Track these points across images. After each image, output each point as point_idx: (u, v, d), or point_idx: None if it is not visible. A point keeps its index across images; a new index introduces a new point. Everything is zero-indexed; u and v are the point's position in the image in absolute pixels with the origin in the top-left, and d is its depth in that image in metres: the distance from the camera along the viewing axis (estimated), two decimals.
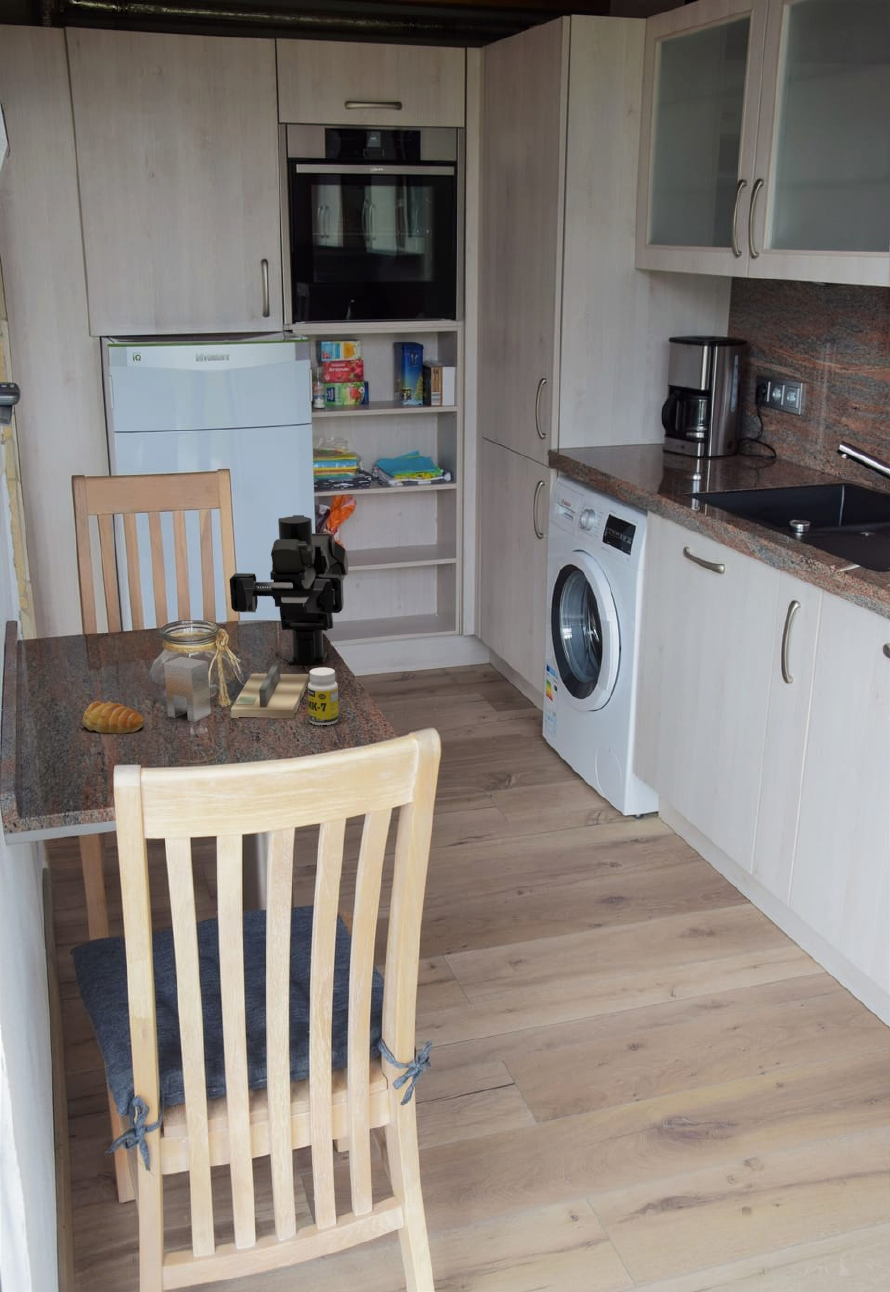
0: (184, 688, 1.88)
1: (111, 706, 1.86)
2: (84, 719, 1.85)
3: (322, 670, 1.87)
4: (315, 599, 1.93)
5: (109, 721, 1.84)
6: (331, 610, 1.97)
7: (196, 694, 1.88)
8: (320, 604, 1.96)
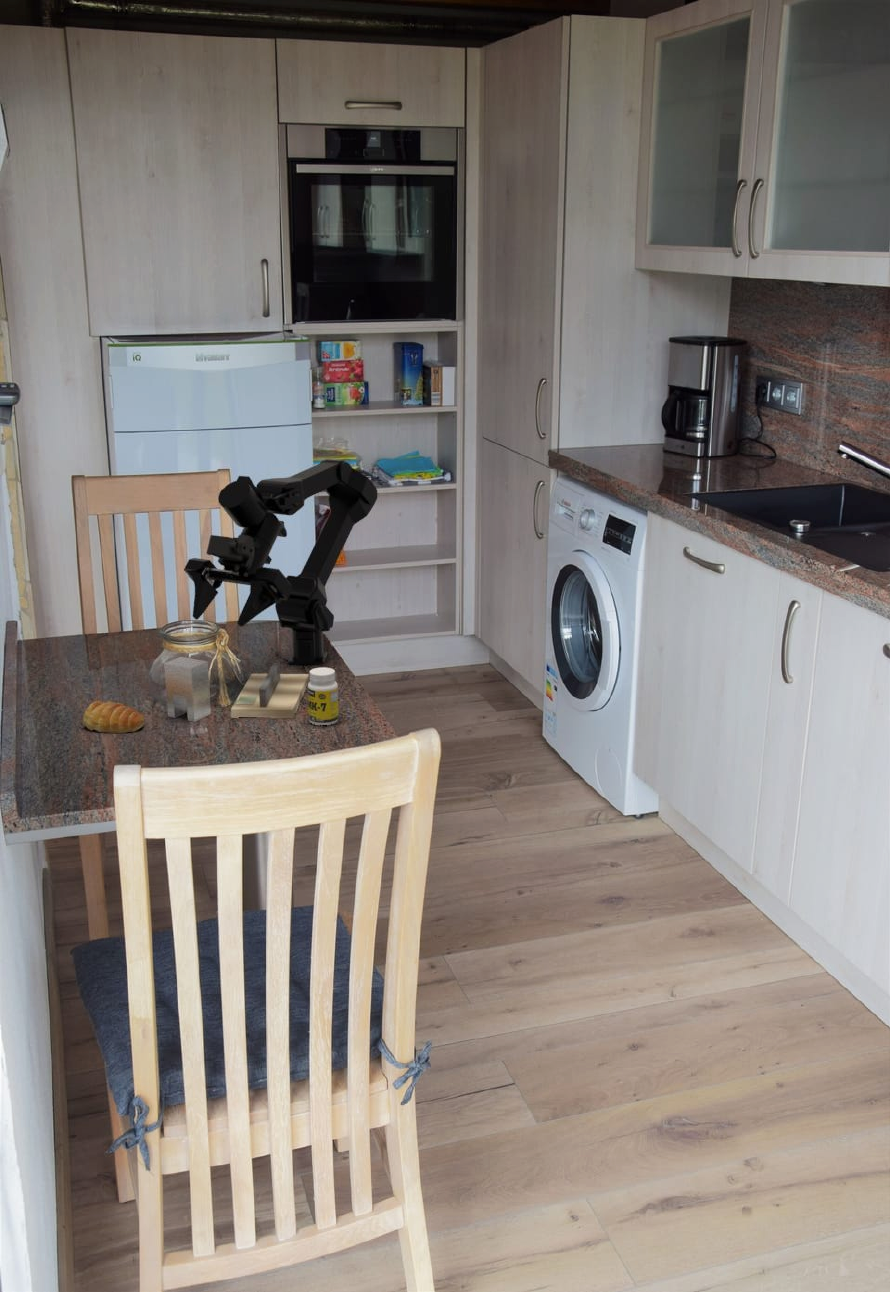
0: (184, 688, 1.88)
1: (112, 706, 1.86)
2: (85, 719, 1.85)
3: (322, 670, 1.87)
4: (251, 607, 1.92)
5: (110, 720, 1.84)
6: (277, 601, 1.95)
7: (196, 694, 1.88)
8: (263, 600, 1.95)
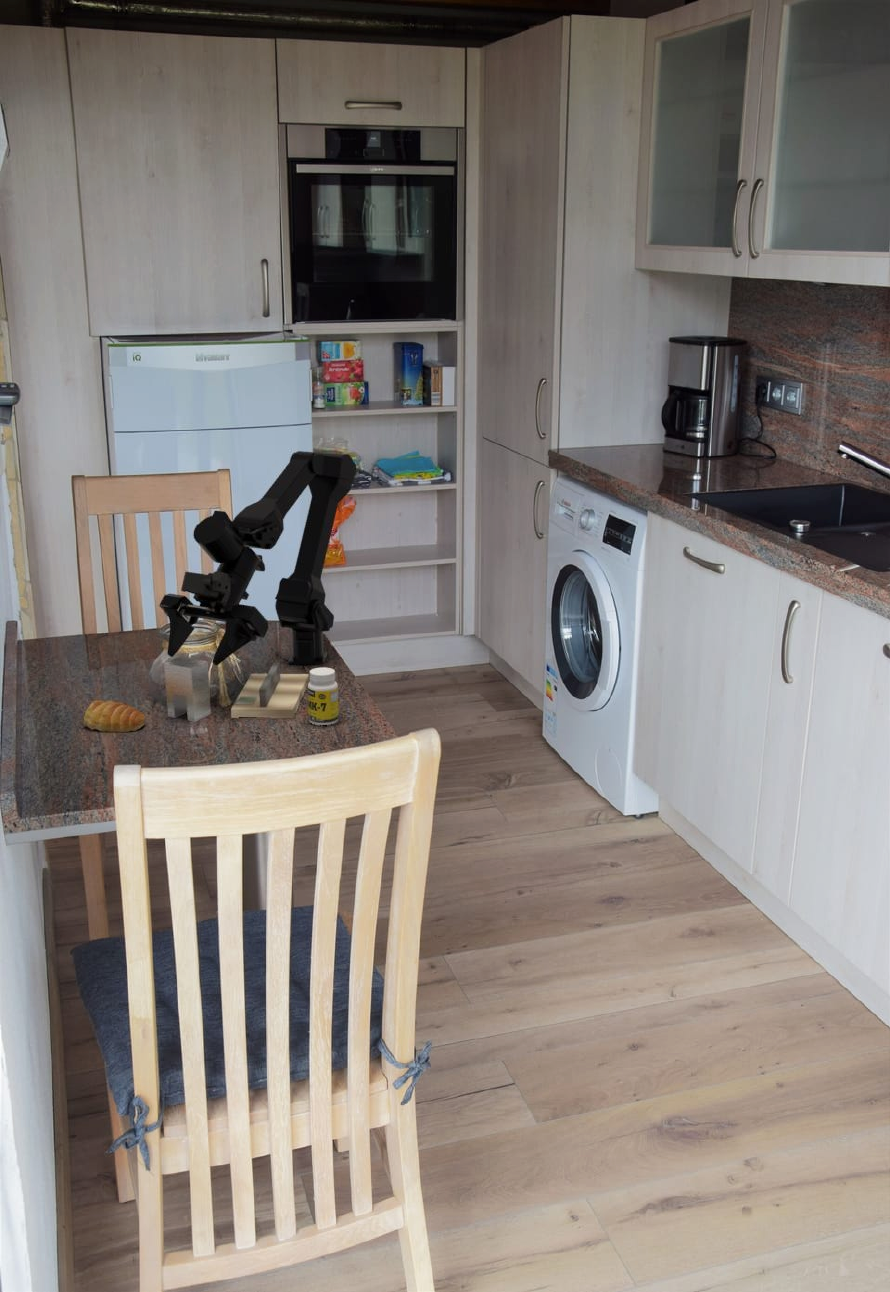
0: (184, 687, 1.88)
1: (112, 705, 1.86)
2: (85, 718, 1.85)
3: (322, 670, 1.87)
4: (226, 646, 1.88)
5: (111, 720, 1.84)
6: (253, 639, 1.91)
7: (196, 694, 1.88)
8: (239, 637, 1.90)
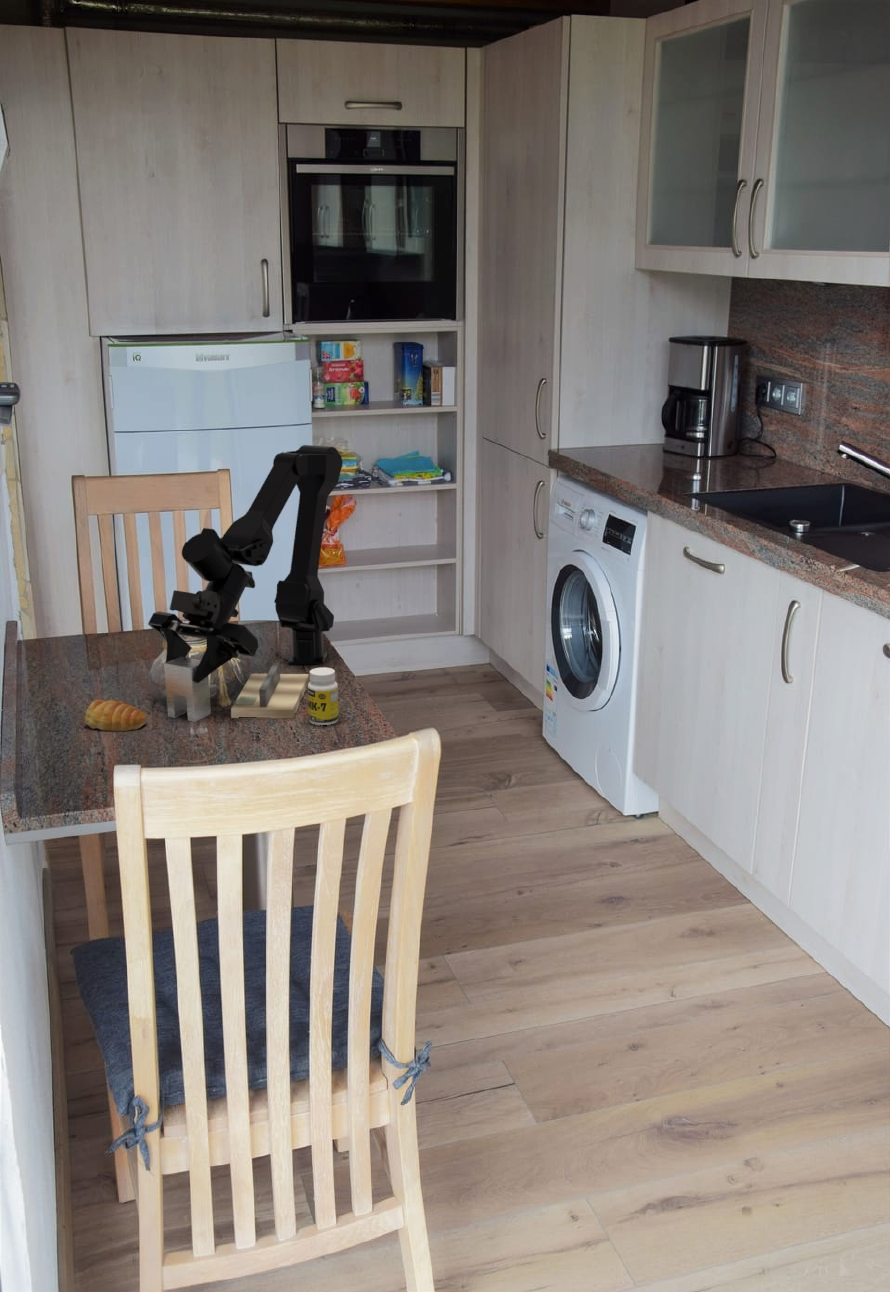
0: (184, 687, 1.88)
1: (113, 704, 1.87)
2: (86, 717, 1.86)
3: (322, 670, 1.87)
4: (207, 663, 1.87)
5: (112, 718, 1.84)
6: (234, 656, 1.90)
7: (196, 694, 1.88)
8: (221, 655, 1.89)
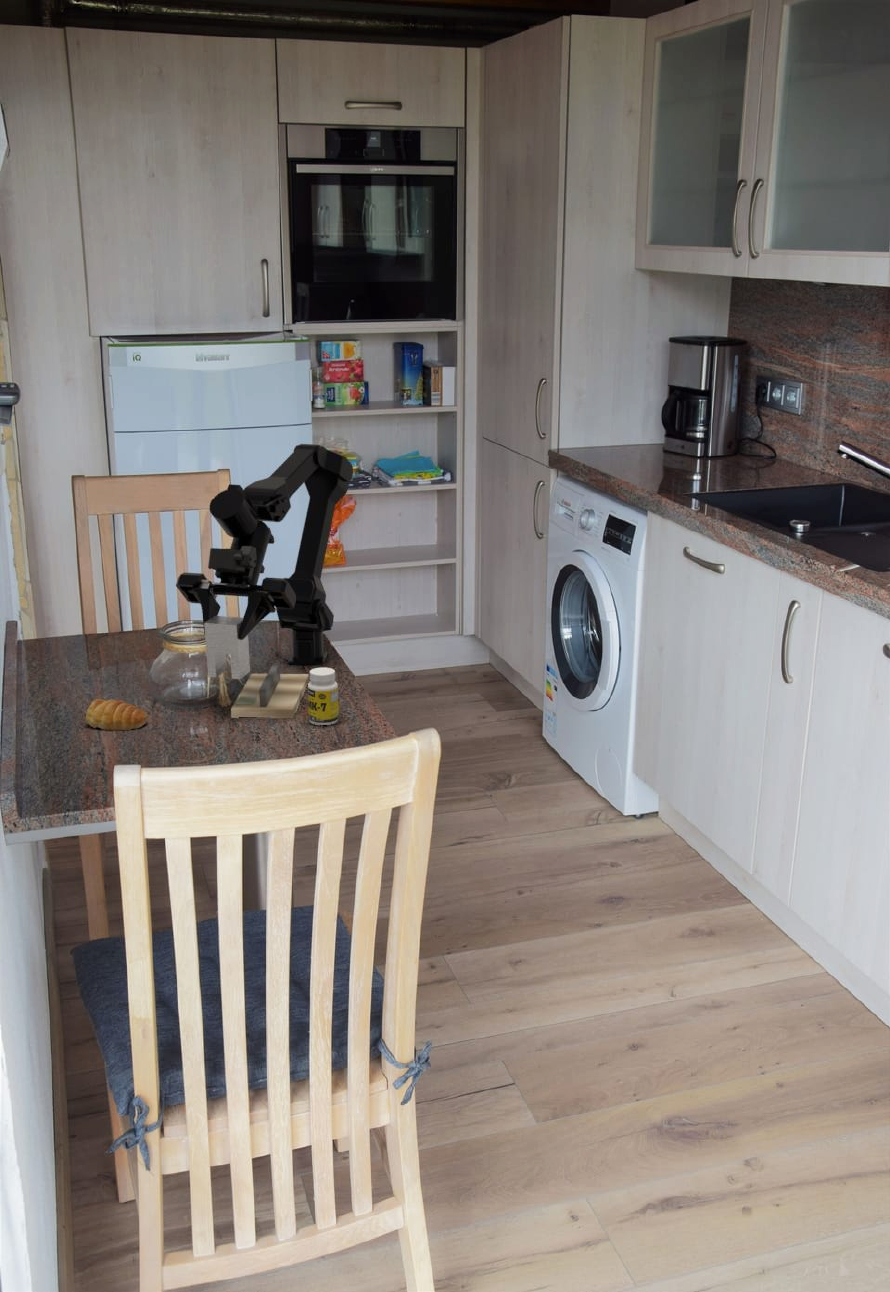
0: (228, 645, 1.87)
1: (114, 703, 1.87)
2: (87, 716, 1.86)
3: (322, 670, 1.87)
4: (250, 619, 1.87)
5: (114, 718, 1.85)
6: (273, 611, 1.91)
7: (240, 651, 1.88)
8: (259, 610, 1.90)
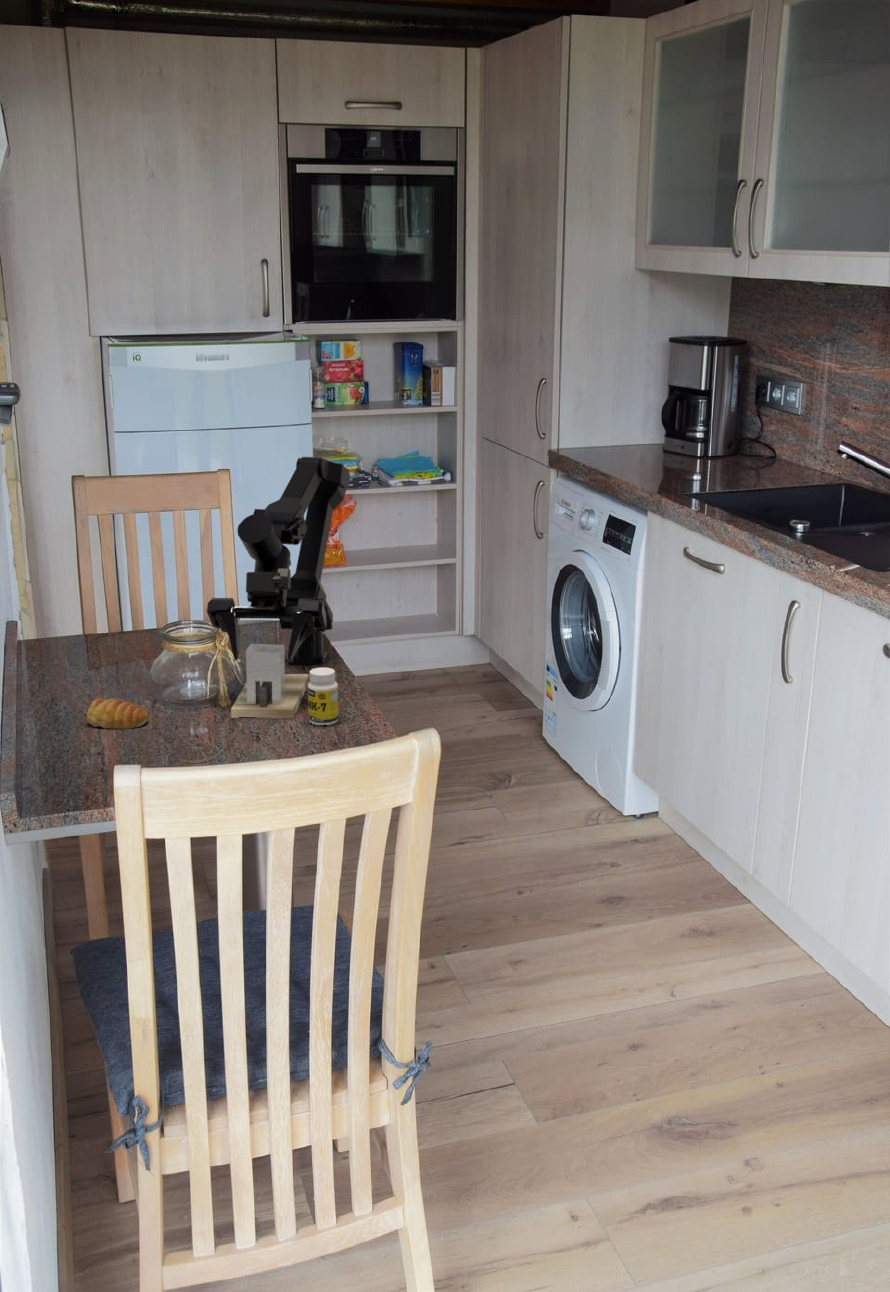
0: (270, 672, 1.90)
1: (115, 702, 1.88)
2: (88, 716, 1.86)
3: (322, 670, 1.87)
4: (297, 640, 1.91)
5: (115, 716, 1.85)
6: (313, 631, 1.95)
7: (281, 677, 1.91)
8: (302, 631, 1.94)
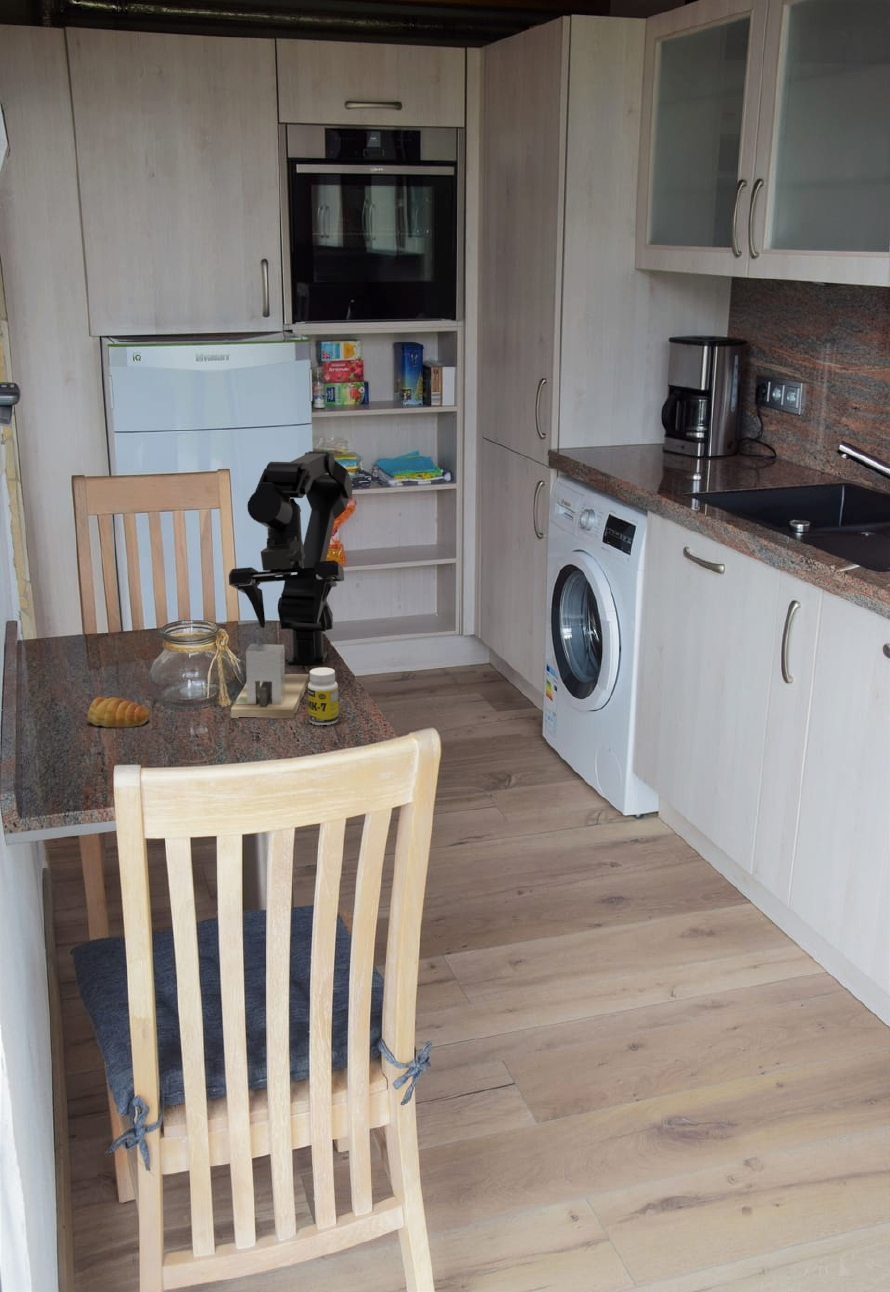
0: (270, 672, 1.90)
1: (116, 701, 1.88)
2: (90, 715, 1.87)
3: (322, 670, 1.87)
4: (321, 603, 1.99)
5: (116, 715, 1.86)
6: (335, 586, 2.02)
7: (281, 677, 1.91)
8: (324, 590, 2.01)
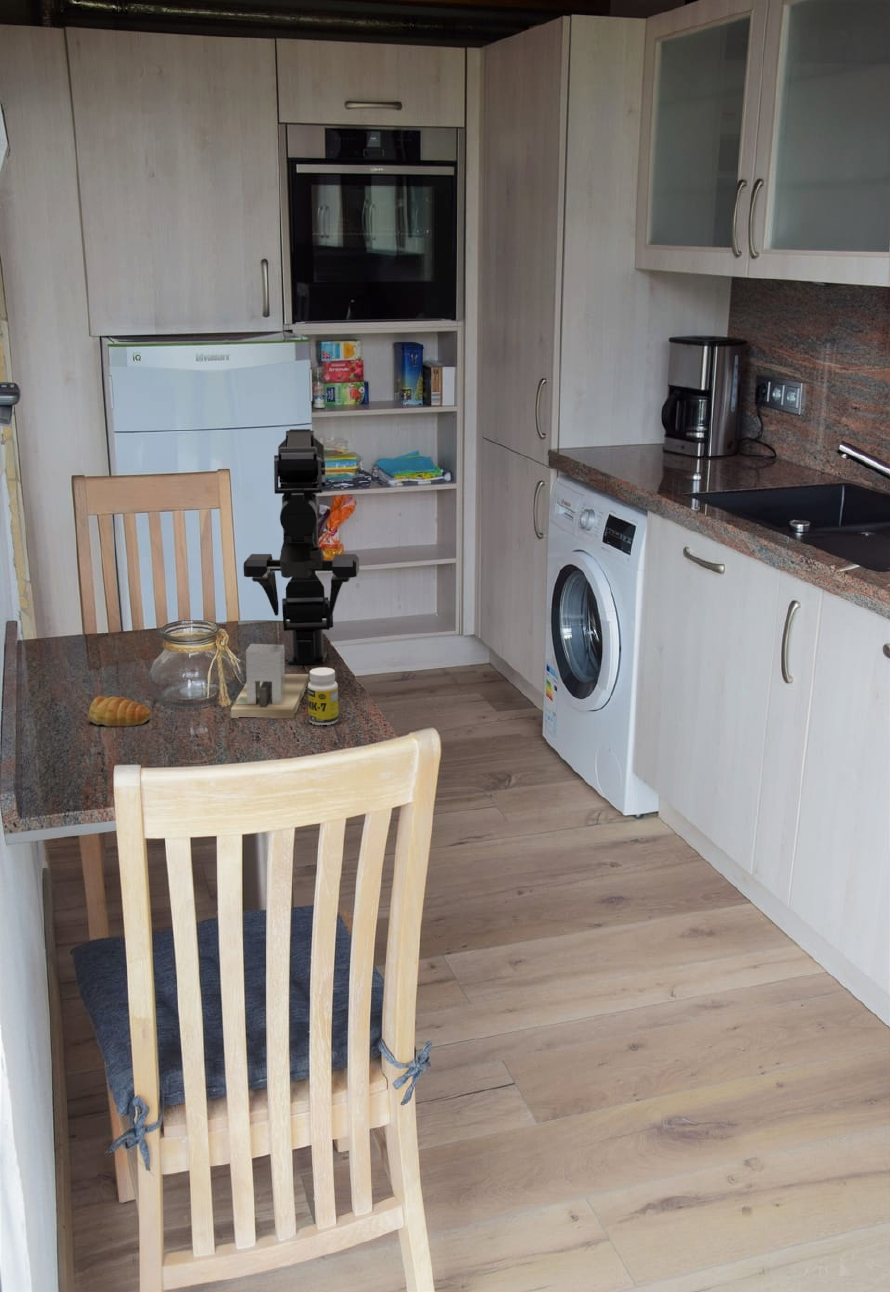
0: (270, 672, 1.90)
1: (117, 700, 1.89)
2: (90, 714, 1.87)
3: (322, 670, 1.87)
4: (336, 598, 1.99)
5: (118, 714, 1.86)
6: None
7: (281, 677, 1.91)
8: None
